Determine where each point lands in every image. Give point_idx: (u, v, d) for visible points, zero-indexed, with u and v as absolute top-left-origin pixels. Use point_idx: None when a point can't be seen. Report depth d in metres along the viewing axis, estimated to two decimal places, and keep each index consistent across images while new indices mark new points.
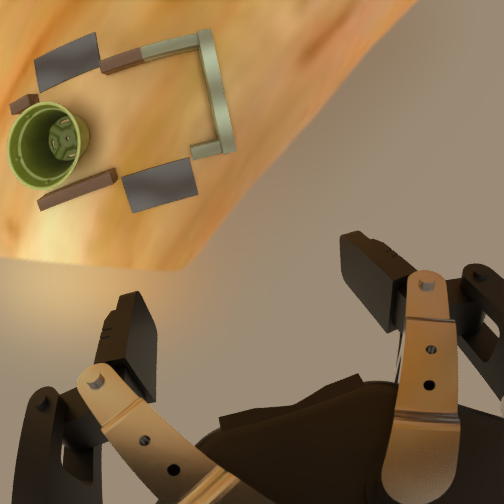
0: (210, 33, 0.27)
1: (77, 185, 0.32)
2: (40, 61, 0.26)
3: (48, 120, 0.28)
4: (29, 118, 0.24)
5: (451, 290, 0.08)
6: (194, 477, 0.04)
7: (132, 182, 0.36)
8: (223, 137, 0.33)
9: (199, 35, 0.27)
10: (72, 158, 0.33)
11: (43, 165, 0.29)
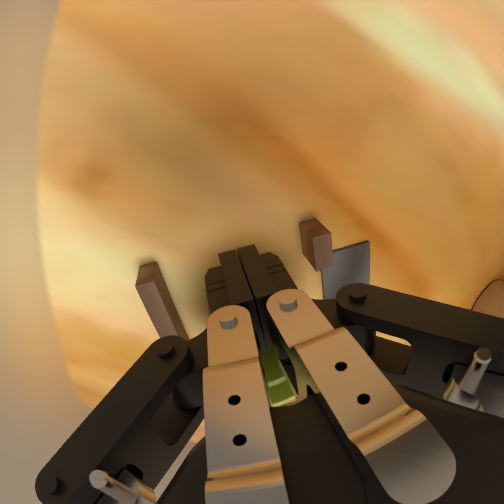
0: None
1: None
2: (363, 252, 0.28)
3: None
4: None
5: (324, 311, 0.08)
6: (252, 456, 0.04)
7: None
8: None
9: None
10: None
11: None
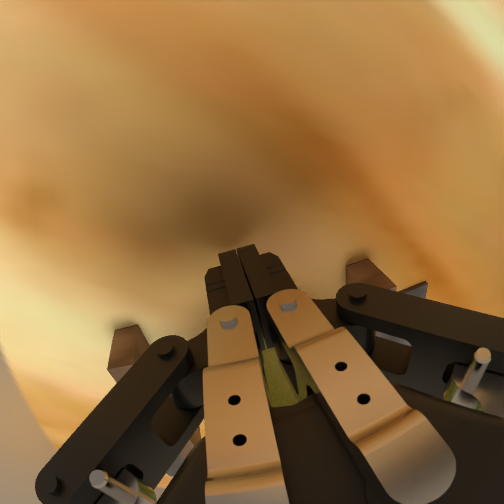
0: None
1: None
2: None
3: None
4: None
5: (323, 311, 0.08)
6: (252, 457, 0.04)
7: None
8: None
9: None
10: None
11: None
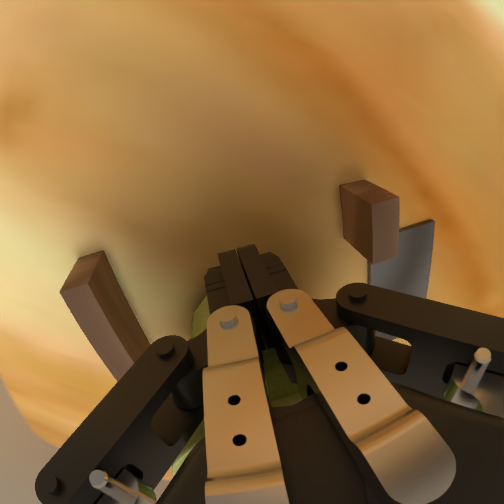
0: None
1: None
2: (425, 237, 0.17)
3: None
4: None
5: (324, 311, 0.08)
6: (252, 457, 0.04)
7: None
8: None
9: None
10: None
11: None
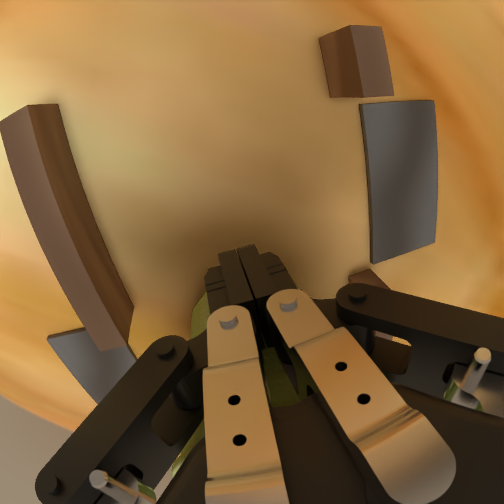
0: None
1: (78, 262, 0.11)
2: (427, 117, 0.14)
3: None
4: None
5: (324, 311, 0.08)
6: (253, 457, 0.04)
7: None
8: None
9: None
10: None
11: None
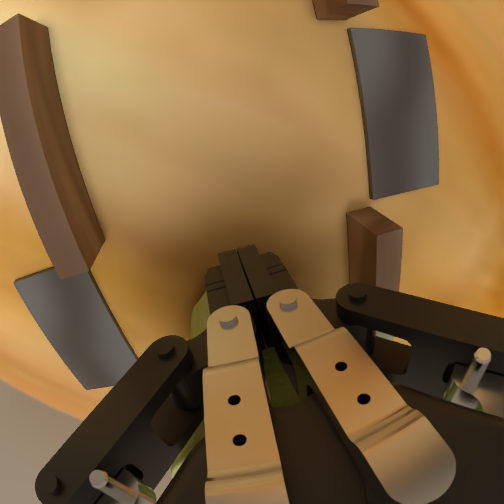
0: None
1: (43, 164, 0.09)
2: (419, 49, 0.12)
3: None
4: None
5: (324, 311, 0.08)
6: (252, 456, 0.04)
7: (75, 285, 0.14)
8: None
9: None
10: None
11: None
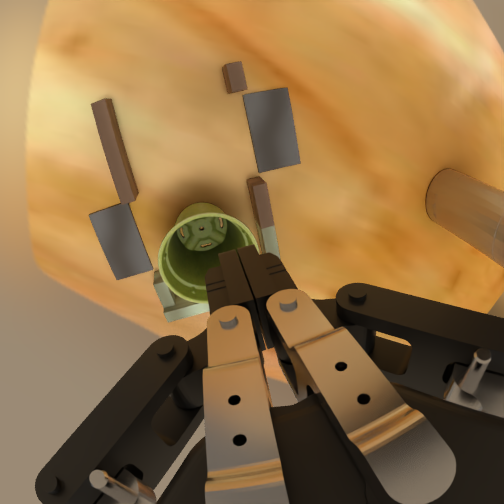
0: None
1: (120, 159, 0.27)
2: (282, 96, 0.30)
3: None
4: (242, 230, 0.29)
5: (324, 311, 0.08)
6: (252, 457, 0.04)
7: (122, 214, 0.32)
8: (179, 311, 0.35)
9: None
10: (178, 233, 0.35)
11: None
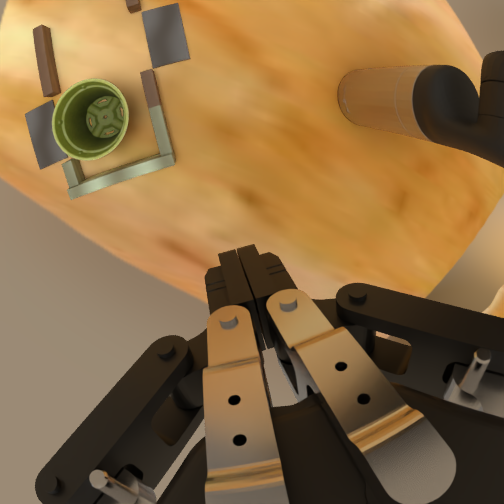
0: (169, 165, 0.37)
1: (46, 63, 0.27)
2: (173, 9, 0.30)
3: None
4: (119, 97, 0.29)
5: (323, 311, 0.08)
6: (252, 456, 0.04)
7: (48, 110, 0.32)
8: (79, 187, 0.35)
9: (167, 156, 0.36)
10: (87, 122, 0.35)
11: (79, 104, 0.30)
